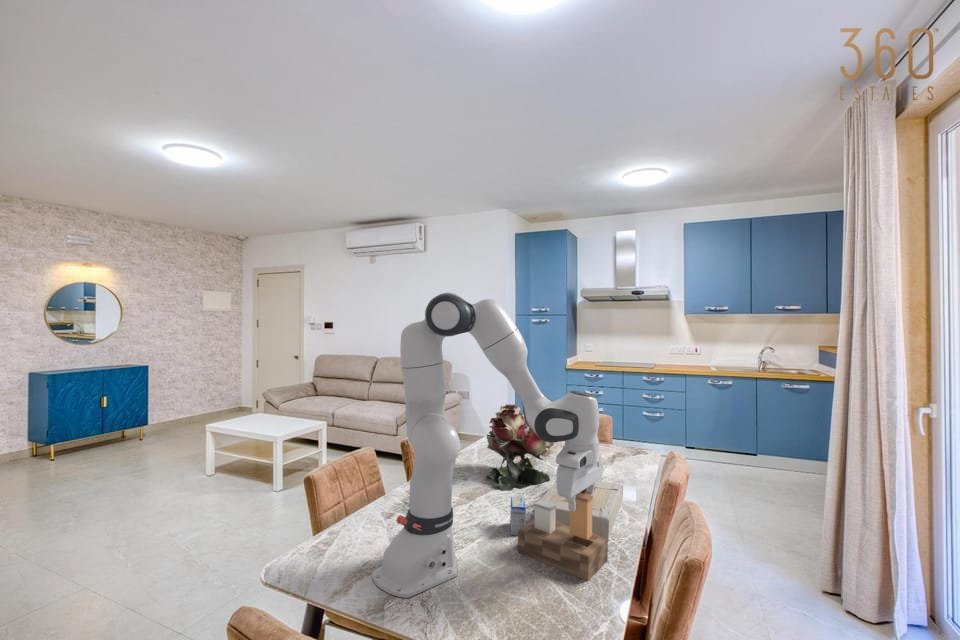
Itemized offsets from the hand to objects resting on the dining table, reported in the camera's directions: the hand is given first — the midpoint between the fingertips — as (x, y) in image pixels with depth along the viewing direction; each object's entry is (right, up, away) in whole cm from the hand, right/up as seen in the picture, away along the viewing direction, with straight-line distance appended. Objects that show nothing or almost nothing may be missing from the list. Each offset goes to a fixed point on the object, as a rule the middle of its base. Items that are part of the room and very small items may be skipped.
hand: (580, 504), depth 116 cm
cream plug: (-9, -13, +7) cm, 17 cm away
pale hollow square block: (+7, -17, +31) cm, 36 cm away
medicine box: (-15, -16, +19) cm, 29 cm away
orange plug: (0, -8, 0) cm, 8 cm away
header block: (-4, -16, +3) cm, 17 cm away
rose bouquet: (-13, -16, +66) cm, 69 cm away
